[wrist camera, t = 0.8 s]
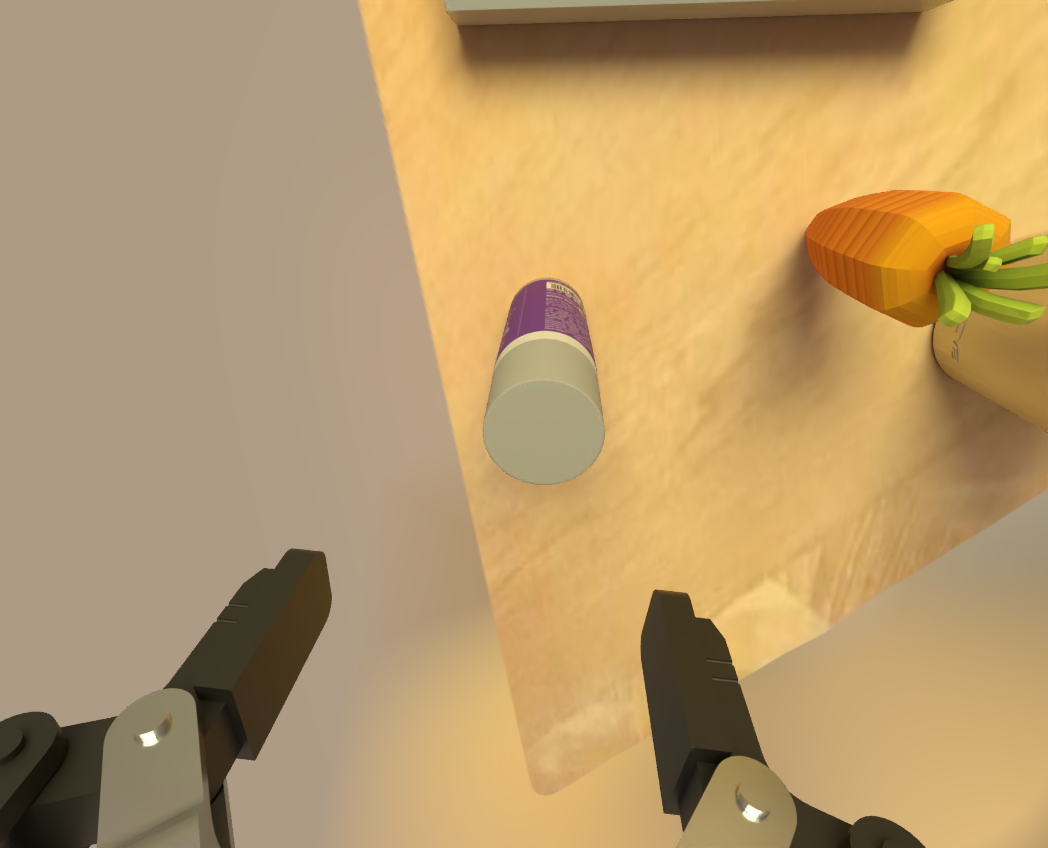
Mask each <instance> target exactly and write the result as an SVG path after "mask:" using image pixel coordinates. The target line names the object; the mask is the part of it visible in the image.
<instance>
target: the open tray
mask: <svg viewBox="0 0 1048 848" xmlns="http://www.w3.org/2000/svg"><path fill="white" fill-rule="evenodd" d="M950 1H953V0H445V7H446V12H447V13H448V14H449V16H450V17H451V18H452V20H453V21H454V22H455V24H456V25H457V26H463V25H496V24H530V23H564V22H597V21H631V20H665V19H698V18H732V17H766V16H799V15H833V14H867V13H900V12H923V11H926V10H929V9H932V8H934V7H937V6H940V5H942V4H945V3H948V2H950Z"/></svg>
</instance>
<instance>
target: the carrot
mask: <svg viewBox="0 0 1048 848" xmlns="http://www.w3.org/2000/svg"><path fill="white" fill-rule="evenodd" d="M1010 228H1011V220H1010V219H1009V218H1007V217H1006V216H1004V215H1002V214H1000V213H998V212H996V211H994V210H993V209H991V208H989V207H987V206H985V205H983V204H981V203H979V202H977V201H975V200H973V199H971V198H970V197H968V196H966V195H963V194H960V193H953V192H937V191H914V190H893V191H887V192H881V193H875V194H870V195H866V196H862V197H858V198H854V199H851V200H848V201H846V202H843V203H841V204H838V205H836V206H833V207H831V208H828V209H826V210H824V211H822V212H820V213H819V214H817V215H816V217H815V218H814V219H813V221H812V222H811V224H810V225H809V227H808V228H807V230H806V232H805V235H806V241H807V248H808V253H809V257H810V261H811V263H812V264H813V266H814V267H815V268H816V270H817V271H818V272H819V273H820V274H821V275H822V276H823V277H824V279H825V280H826V281H827V282H828V283H829V284H831V285H833V286H834V287H836V288H837V289H839V290H841V291H842V292H844V293H845V294H847V295H849V296H850V297H852V298H854V299H856V300H858V301H859V302H861V303H863V304H865V305H867V306H869V307H870V308H873V309H875V310H877V311H879V312H881V313H883V314H886V315H888V316H890V317H892V318H894V319H896V320H898V321H901V322H903V323H905V324H907V325H910V326H913V327H923V326H926V325H929V324H933V323H936V322H941V323H942V324H943V325H945V326H948V327H950V328H952V327H954V326H956V325H958V324H960V323H961V322H963V321H964V320H965V319H967V318H968V316H969V314H970V312H971V311H972V310H973V311H974V312H976V313H978V314H981V315H984V316H987V317H990V318H993V319H995V320H998V321H1002V322H1006V323H1011V324H1015V325H1019V326H1021V325H1026V324H1030V323H1031V322H1033V321H1035V320H1036V319H1038V318H1040V317H1041V316H1042V314H1043V313H1044V311H1045V309H1046V306H1042V305H1038V304H1034V303H1030V302H1026V301H1021V300H1017V299H1012V298H1007V297H1003V296H998V295H995V294H993V293H990V292H988V291H989V290H990V289H998V290H1016V291H1023V290H1035V289H1047V288H1048V263H1045V264H1040V265H1034V266H1029V267H1017V268H1009V265H1010V263H1014V262H1017V261H1021V260H1024V259H1028V258H1031V257H1035V256H1038V255H1041V254H1043V253H1044V252H1045V250H1046V249H1047V248H1048V237H1047V236H1045V235H1043V236H1039V237H1034V238H1031V239H1028V240H1025V241H1022V242H1019V243H1016V244H1013V245H1010Z"/></svg>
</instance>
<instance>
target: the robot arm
mask: <svg viewBox="0 0 1048 848" xmlns="http://www.w3.org/2000/svg"><path fill="white" fill-rule="evenodd" d="M1045 236H1047V237H1048V235H1045ZM1029 239H1031V238H1029ZM1026 240H1028V239H1026ZM1023 241H1025V240H1023ZM1020 242H1022V241H1020ZM1018 243H1019V242H1018ZM1015 244H1016V243H1015ZM1012 245H1013V244H1012ZM1045 263H1048V248H1047V249H1046V250H1045V252H1044V253H1043V254H1041V255H1038V256H1035V257H1031V258H1028V259H1024V260H1021V261H1017V262H1014V263H1010V265H1009V268H1017V267H1029V266H1034V265H1040V264H1045ZM988 292H990V293H993V294H995V295H998V296H1003V297H1007V298H1012V299H1017V300H1021V301H1026V302H1030V303H1034V304H1038V305H1042V306H1046V309H1045V311H1044V313H1043V314H1042V316H1041V317H1040V318H1038V319H1036V320H1035V321H1033V322H1031V323H1030V324H1026V325H1021V326H1019V325H1015V324H1011V323H1006V322H1002V321H998V320H995V319H993V318H990V317H987V316H984V315H981V314H978V313H976V312H974V311H973V310H972V311H971V312H970V314H969V316H968V318H967V319H965V320H964V321H963V322H961V323H960V324H958V325H956V326H954V327H952V328H950V327H948V326H945V325H943V324H942V323H941V322H936V325H935V328H934V333H933V348H934V353H935V357H936V360H937V361H938V363H939V365H940V366H941V368H942V370H943V371H945V372H946V373H947V374H948V375H949V376H950V377H951V378H953V379H955V380H956V381H958V382H960V383H962V384H963V385H965V386H967V387H969V388H970V389H972V390H974V391H976V392H977V393H979V394H981V395H983V396H984V397H986V398H988V399H990V400H991V401H993V402H995V403H997V404H998V405H1000V406H1001V407H1003V408H1005V409H1007V410H1008V411H1010V412H1012V413H1014V414H1015V415H1017V416H1019V417H1021V418H1022V419H1024V420H1026V421H1028V422H1029V423H1031V424H1033V425H1035V426H1036V427H1038V428H1040V429H1042V430H1043V431H1045V432H1047V433H1048V288H1047V289H1035V290H1023V291H1016V290H998V289H990V290H989V291H988ZM331 601H332V595H331V588H330V582H329V576H328V569H327V563H326V557H325V554H324V553H323V552H320V551H311V550H301V549H290V550H288V551H287V552H286V553H285V555H284V556H283V558H282V559H281V560H280V562H279V563H278V565H277V566H276V568H275V569H267V568H264V569H262V570H261V571H259V572H258V573H257V574H255V575H254V576H253V577H251V578H250V579H249V580H248V581H246V582H245V583H243V585H242V586H241V587H240V589H239V590H238V591H237V592H236V594H235V595H234V597H233V598H232V599H231V601H230V602H229V605H228V606H226V607H225V609H224V610H223V611H222V612H221V614H220V615H219V617H218V618H217V622H214V623H213V624H212V626H211V627H210V629H209V630H208V631H207V633H206V634H205V635H204V637H203V638H202V639H201V641H200V642H199V643H198V645H197V646H196V647H195V649H194V650H193V651H192V653H191V654H190V655H189V657H188V658H187V659H186V661H185V662H184V663H183V665H182V666H181V667H180V669H179V670H178V671H177V673H176V674H175V675H174V677H173V678H172V679H171V681H170V682H169V683H168V684H167V685H166V686H165V687H164V688H163V689H162V690H158V691H155V692H152V693H150V694H148V695H145V696H143V697H141V698H140V699H138V700H136V701H135V702H133V703H132V704H131V705H129V706H128V707H127V708H126V709H125V710H123V711H122V712H121V713H120V714H119V715H118V716H116V717H111V718H107V719H102V720H97V721H91V722H86V723H81V724H76V725H71V726H66V727H60V726H59V725H58V723H57V722H56V720H55V719H54V717H52V716H51V715H50V714H47V713H44V712H28V713H23V714H19V715H16V716H13V717H10V718H8V719H5V720H4V721H1V722H0V848H89V847H90V845H92V844H97V848H235V844H234V836H233V828H232V819H231V811H230V803H229V795H228V787H227V780H226V776H227V774H228V772H229V770H230V769H231V767H232V765H233V763H234V761H235V760H236V758H238V759H247V760H256V758H257V756H258V754H259V752H260V750H261V748H262V746H263V744H264V742H265V740H266V738H267V736H268V734H269V733H270V731H271V729H272V727H273V724H274V723H275V721H276V718H277V717H278V715H279V713H280V711H281V709H282V707H283V705H284V703H285V701H286V699H287V697H288V695H289V693H290V691H291V690H292V688H293V686H294V684H295V682H296V680H297V678H298V676H299V674H300V672H301V670H302V668H303V666H304V664H305V662H306V660H307V658H308V656H309V654H310V652H311V650H312V649H313V647H314V645H315V643H316V640H317V639H318V637H319V635H320V633H321V631H322V629H323V627H324V625H325V623H326V621H327V618H328V616H329V612H330V608H331ZM641 661H642V668H643V675H644V682H645V689H646V695H647V702H648V709H649V716H650V723H651V730H652V736H653V743H654V750H655V756H656V764H657V771H658V777H659V784H660V791H661V798H662V805H663V811H664V813H666V814H674V815H680V817H681V823H682V829H683V835H682V837H681V839H680V841H679V843H678V845H677V847H676V848H925V846H923V845H922V843H920V841H919V840H918V839H917V838H915V837H914V836H913V835H912V834H911V833H910V832H908V831H907V830H905V829H904V828H903V827H901V826H899V825H897V824H896V823H894V822H892V821H890V820H887V819H885V818H881V817H877V816H866V817H863V818H861V819H859V820H858V821H856V822H855V823H854V825H851V824H848V823H846V822H844V821H842V820H840V819H838V818H836V817H833V816H831V815H829V814H827V813H825V812H823V811H820V810H818V809H816V808H814V807H812V806H810V805H808V804H806V803H804V802H802V801H801V800H799V799H798V798H797V797H795V796H793V794H791V793H790V792H789V791H788V789H787V788H786V786H785V785H784V783H783V782H782V781H781V779H780V778H779V777H778V776H777V775H776V774H775V773H774V772H773V771H772V770H771V769H769V767H768V765H767V763H766V761H765V759H764V757H763V754H762V751H761V748H760V745H759V742H758V740H757V736H756V733H755V730H754V727H753V724H752V721H751V717H750V714H749V711H748V708H747V705H746V702H745V699H744V696H743V693H742V690H741V687H740V685H739V684H738V677H737V674H736V671H735V668H734V666H732V659H731V656H730V653H729V650H728V647H727V644H726V640H725V638H724V637H723V636H722V634H721V633H720V632H719V630H718V629H717V628H716V626H715V625H714V624H713V623H712V621H711V620H710V619H705V618H696V617H695V615H694V611H693V607H692V604H691V600H690V597H689V595H688V594H687V593H682V592H673V591H664V590H654V592H653V594H652V598H651V601H650V605H649V608H648V612H647V616H646V619H645V623H644V626H643V630H642V635H641Z"/></svg>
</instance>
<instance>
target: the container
mask: <svg viewBox="0 0 1048 848" xmlns="http://www.w3.org/2000/svg"><path fill="white" fill-rule="evenodd" d="M604 435H605V429H604V421H603V413H602V406H601V399H600V391H599V384H598V377H597V369H596V364H595V359H594V354H593V350H592V345H591V340H590V335H589V330H588V326H587V321H586V316H585V311H584V307H583V303H582V301H581V298H580V297H579V295H578V293H577V292H576V291H575V290H574V289H573V288H572V287H571V286H570V285H568V284H567V283H565V282H563V281H561V280H558V279H554V278H541V279H536V280H533V281H531V282H529V283H527V284H526V285H525V286H523V287H522V288H521V289H520V290H519V291H518V292H517V294H516V295H515V297H514V299H513V301H512V304H511V307H510V310H509V314H508V318H507V322H506V325H505V329H504V333H503V337H502V340H501V344H500V348H499V352H498V356H497V359H496V363H495V367H494V372H493V377H492V383H491V388H490V393H489V398H488V403H487V409H486V414H485V419H484V425H483V438H484V443H485V446H486V449H487V451H488V453H489V455H490V457H491V458H492V460H493V461H494V462H495V463H496V464H497V466H498V467H499V468H501V469H502V470H503V471H504V472H506V473H507V474H509V475H510V476H512V477H514V478H516V479H518V480H521V481H524V482H528V483H532V484H541V485H548V484H556V483H561V482H565V481H568V480H570V479H573V478H575V477H577V476H578V475H580V474H581V473H583V472H584V471H585V470H587V469H588V468H589V467H590V466H591V465H592V464H593V463H594V461H595V460H596V458H597V457H598V455H599V453H600V451H601V449H602V446H603V442H604Z"/></svg>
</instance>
